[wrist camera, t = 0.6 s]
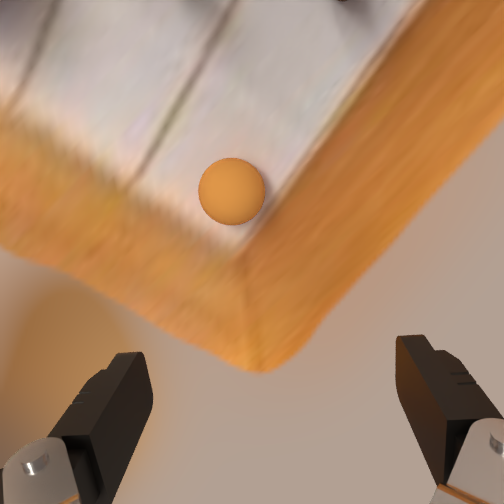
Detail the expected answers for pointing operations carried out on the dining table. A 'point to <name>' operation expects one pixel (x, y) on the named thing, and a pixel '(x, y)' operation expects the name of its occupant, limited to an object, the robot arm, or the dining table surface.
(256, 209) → the ball
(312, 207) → the dining table surface
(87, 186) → the dining table surface
